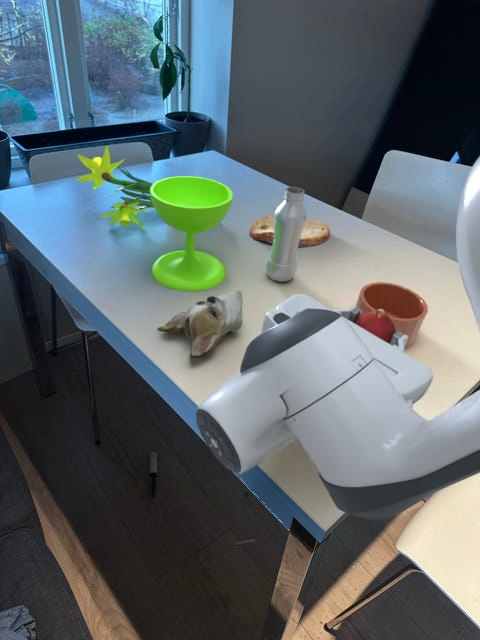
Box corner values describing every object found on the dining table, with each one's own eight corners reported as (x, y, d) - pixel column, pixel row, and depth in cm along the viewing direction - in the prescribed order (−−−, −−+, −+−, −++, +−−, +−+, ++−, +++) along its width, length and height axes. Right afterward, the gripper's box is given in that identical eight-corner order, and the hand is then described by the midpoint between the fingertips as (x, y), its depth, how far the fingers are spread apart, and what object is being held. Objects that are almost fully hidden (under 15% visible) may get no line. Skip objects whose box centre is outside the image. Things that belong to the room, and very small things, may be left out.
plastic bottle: (300, 279, 99) (319, 193, 87) (278, 288, 95) (295, 199, 83) (280, 266, 103) (295, 181, 91) (258, 274, 99) (271, 187, 87)
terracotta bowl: (423, 328, 89) (435, 299, 85) (402, 360, 81) (415, 330, 76) (365, 303, 94) (374, 275, 90) (340, 330, 86) (349, 301, 81)
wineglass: (193, 246, 106) (197, 171, 95) (240, 275, 98) (250, 197, 87) (136, 265, 97) (133, 185, 86) (183, 300, 88) (185, 215, 77)
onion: (359, 336, 65) (375, 291, 60) (393, 357, 62) (413, 311, 57) (336, 352, 62) (351, 306, 57) (371, 376, 59) (390, 329, 54)
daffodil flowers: (223, 229, 117) (93, 218, 94) (191, 236, 128) (68, 228, 105) (221, 164, 116) (89, 136, 93) (189, 177, 127) (64, 155, 104)
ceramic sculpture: (262, 297, 76) (191, 333, 68) (258, 335, 81) (192, 373, 73) (222, 270, 82) (152, 300, 74) (220, 307, 87) (156, 339, 79)
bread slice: (334, 233, 119) (337, 220, 117) (307, 259, 107) (310, 245, 104) (275, 213, 126) (277, 201, 124) (243, 235, 113) (244, 222, 111)
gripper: (406, 403, 44) (463, 346, 52) (256, 305, 55) (323, 271, 63) (387, 443, 48) (442, 384, 56) (250, 345, 58) (314, 307, 67)
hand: (378, 324), depth 60 cm, fingers closed on onion, 5 cm apart
